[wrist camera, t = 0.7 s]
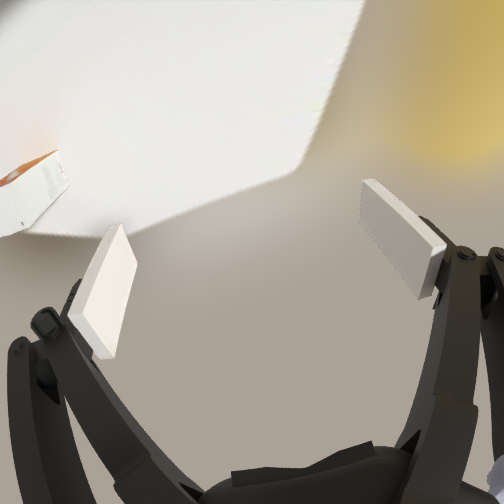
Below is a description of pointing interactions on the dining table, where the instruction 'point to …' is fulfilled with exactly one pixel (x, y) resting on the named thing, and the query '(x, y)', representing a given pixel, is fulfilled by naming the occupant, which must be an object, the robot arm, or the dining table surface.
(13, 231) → the small box
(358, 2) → the dining table surface
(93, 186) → the dining table surface
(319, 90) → the dining table surface
